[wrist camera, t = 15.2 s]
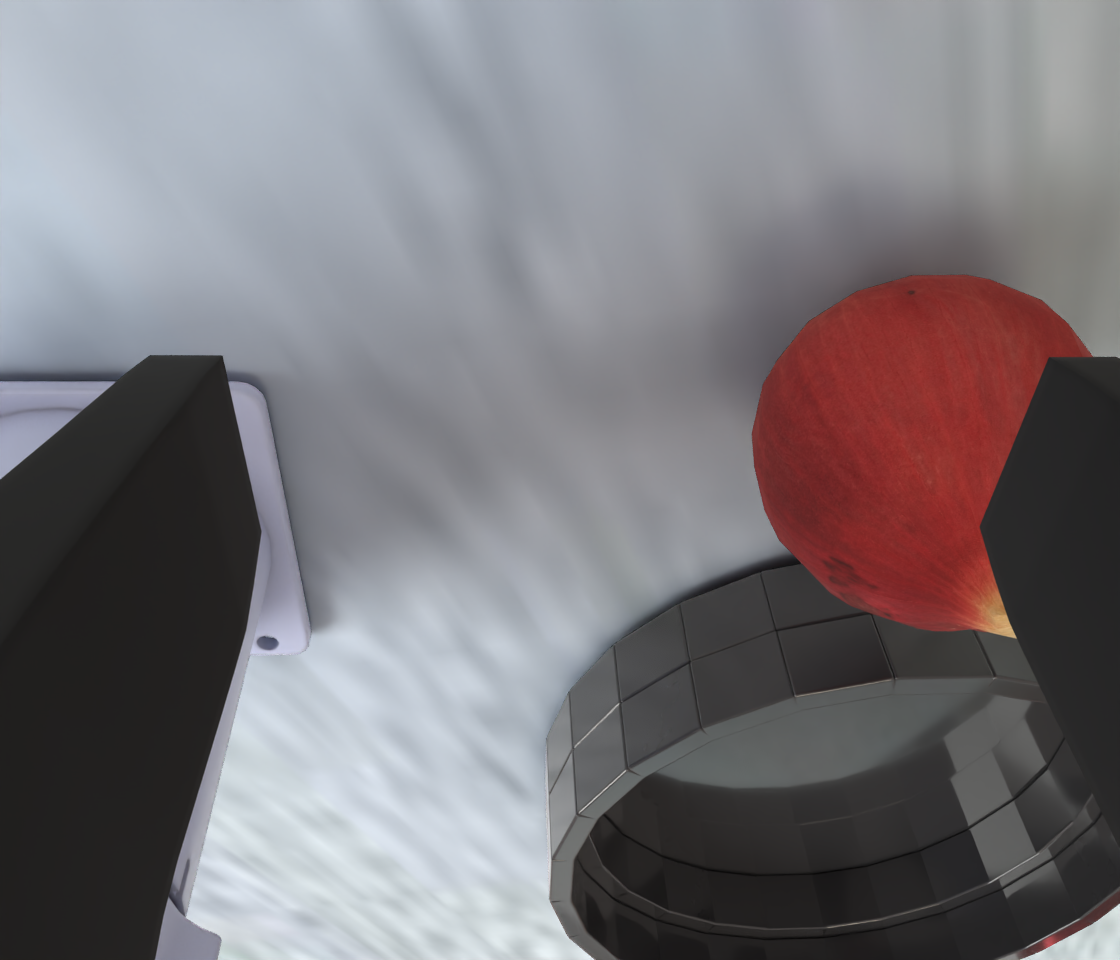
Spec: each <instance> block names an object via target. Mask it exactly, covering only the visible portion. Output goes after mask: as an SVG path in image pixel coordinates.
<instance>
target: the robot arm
mask: <svg viewBox="0 0 1120 960" xmlns="http://www.w3.org/2000/svg"><path fill="white" fill-rule="evenodd" d="M979 527H980V531H981V534H982V537H983V541H984V544H985V548H986V551H987V555H988V558H989V561H990V565H991V568H992V572H993V575H994V579H995V582H996V584H997V587H998V590H999V593H1000V596H1001V599H1002V602H1003V605H1004V608H1005V611H1006V614H1007V617H1008V620H1009V623H1010V625H1011V627H1012V629H1013V631H1014V633H1015V636H1016V638H1017V640H1018V642H1019V644H1020V647H1021V649H1022V651H1023V653H1024V655H1025V657H1026V659H1027V661H1028V663H1029V665H1030V667H1031V669H1032V672H1033V674H1034V676H1035V678H1036V680H1037V682H1038V684H1039V686H1040V688H1041V690H1042V692H1043V694H1044V696H1045V699H1046V701H1047V703H1048V705H1049V707H1050V709H1051V711H1052V713H1053V715H1054V717H1055V719H1056V721H1057V723H1058V725H1059V727H1060V729H1061V731H1062V733H1063V735H1064V737H1065V739H1066V741H1067V743H1068V745H1069V747H1070V749H1071V751H1072V753H1073V755H1074V757H1075V759H1076V761H1077V763H1078V765H1079V767H1080V769H1081V771H1082V773H1083V776H1084V778H1085V780H1086V782H1087V784H1088V786H1089V788H1090V790H1091V792H1092V794H1093V796H1094V798H1095V800H1096V802H1097V804H1098V806H1099V808H1100V810H1101V812H1102V814H1103V816H1104V818H1105V820H1106V822H1107V824H1108V826H1109V828H1110V830H1111V832H1112V834H1113V836H1114V838H1115V840H1116V843H1117V845H1118V847H1119V850H1120V359H1119V358H1117V357H1049V358H1048V360H1047V363H1046V365H1045V368H1044V370H1043V373H1042V375H1041V377H1040V380H1039V382H1038V385H1037V387H1036V390H1035V392H1034V395H1033V397H1032V399H1031V402H1030V404H1029V407H1028V409H1027V412H1026V414H1025V417H1024V419H1023V421H1022V424H1021V426H1020V429H1019V431H1018V434H1017V436H1016V438H1015V441H1014V443H1013V446H1012V448H1011V451H1010V453H1009V456H1008V458H1007V460H1006V463H1005V465H1004V468H1003V470H1002V473H1001V475H1000V478H999V480H998V482H997V485H996V487H995V490H994V492H993V495H992V497H991V500H990V502H989V504H988V507H987V509H986V512H985V514H984V517H983V519H982V521H981V524H980V526H979ZM266 636H270V637H273V638H270V637H266ZM310 638H311V628H310V622H309V617H308V612H307V607H306V602H305V597H304V592H303V587H302V582H301V576H300V571H299V566H298V561H297V556H296V551H295V546H294V541H293V536H292V530H291V525H290V520H289V515H288V510H287V505H286V500H285V495H284V490H283V485H282V479H281V474H280V469H279V464H278V459H277V454H276V449H275V444H274V439H273V433H272V428H271V423H270V418H269V413H268V408H267V403H266V400H265V398H264V396H263V394H262V393H261V392H260V391H259V390H258V389H257V388H256V387H254V386H252V385H250V384H248V383H243V382H237V381H228V378H227V374H226V369H225V365H224V360H223V356H203V355H150V356H148V357H147V358H146V359H144V360H143V361H142V362H140V363H139V364H138V365H136V366H135V367H134V368H132V369H131V370H130V371H129V372H127V373H126V374H125V375H124V376H122V377H121V378H120V379H119V380H118V381H0V960H218V955H219V950H220V946H221V941H222V940H221V938H220V936H219V935H217V934H215V933H213V932H210V931H208V930H206V929H203V928H201V927H199V926H198V925H196V924H194V923H193V922H191V921H189V920H188V919H187V918H186V915H187V911H188V907H189V902H190V898H191V894H192V890H193V886H194V882H195V878H196V874H197V870H198V866H199V862H200V857H201V853H202V849H203V845H204V841H205V837H206V833H207V829H208V825H209V821H210V817H211V812H212V808H213V804H214V800H215V796H216V792H217V788H218V784H219V780H220V776H221V771H222V767H223V763H224V759H225V755H226V751H227V747H228V743H229V739H230V735H231V731H232V726H233V722H234V718H235V714H236V710H237V706H238V702H239V698H240V694H241V690H242V685H243V681H244V677H245V673H246V669H247V665H248V661H249V657H250V655H293V654H299V653H301V652H303V651H305V650H306V649H307V648H308V647H309V643H310Z"/></svg>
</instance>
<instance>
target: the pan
mask: <svg viewBox="0 0 1120 960" xmlns="http://www.w3.org/2000/svg"><path fill="white" fill-rule="evenodd" d="M545 798H546V826H547V854H548V882H549V900H550V902H551V904H552V906H553V908H554V910H555V912H556V914H557V916H558V918H559V920H560V922H561V924H562V926H563V928H564V930H565V932H566V934H567V936H568V937H569V938H570V939H571V940H572V941H573V942H574V943H576V944H577V945H578V946H579V947H580V948H582V949H583V950H584V951H585V952H586V953H588V954H589V955H590V956H591V957H592V958H594V959H595V960H1020V959H1022V958H1025V957H1028V956H1030V955H1033V954H1035V953H1038V952H1040V951H1042V950H1044V949H1046V948H1048V947H1050V946H1051V945H1053V944H1055V943H1057V942H1059V941H1061V940H1063V939H1065V938H1067V937H1068V936H1070V935H1072V934H1074V933H1076V932H1078V931H1080V930H1082V929H1084V928H1086V927H1087V926H1089V925H1091V924H1093V923H1094V922H1096V921H1098V920H1099V919H1100V918H1101V917H1103V916H1104V915H1105V914H1107V913H1108V912H1109V911H1111V910H1112V909H1113V908H1115V907H1116V906H1117V905H1118V904H1120V850H1119V847H1118V845H1117V843H1116V840H1115V838H1114V836H1113V834H1112V832H1111V830H1110V828H1109V826H1108V824H1107V822H1106V820H1105V818H1104V816H1103V814H1102V812H1101V810H1100V808H1099V806H1098V804H1097V802H1096V800H1095V798H1094V796H1093V794H1092V792H1091V790H1090V788H1089V786H1088V784H1087V782H1086V780H1085V778H1084V776H1083V773H1082V771H1081V769H1080V767H1079V765H1078V763H1077V761H1076V759H1075V757H1074V755H1073V753H1072V751H1071V749H1070V747H1069V745H1068V743H1067V741H1066V739H1065V737H1064V735H1063V733H1062V731H1061V729H1060V727H1059V725H1058V723H1057V721H1056V719H1055V717H1054V715H1053V713H1052V711H1051V709H1050V707H1049V705H1048V703H1047V701H1046V699H1045V696H1044V694H1043V692H1042V690H1041V688H1040V686H1039V684H1038V682H1037V680H1036V678H1035V676H1034V674H1033V672H1032V669H1031V667H1030V665H1029V663H1028V661H1027V659H1026V657H1025V655H1024V653H1023V651H1022V649H1021V647H1020V644H1019V642H1018V640H1017V639H1016V638H1012V637H1007V636H1003V635H999V634H994V633H990V632H980V631H976V630H971V629H968V630H959V631H930V630H924V629H918V628H914V627H911V626H908V625H905V624H902V623H899V622H896V621H893V620H890V619H886V618H883V617H880V616H877V615H874V614H871V613H869V612H866V611H863V610H860V609H858V608H855V607H852V606H850V605H849V604H847V603H845V602H844V601H842V600H841V599H839V598H837V597H836V596H834V595H833V594H831V593H830V592H829V591H828V590H827V589H826V588H825V587H824V586H823V585H822V584H821V583H820V582H819V581H818V580H817V579H816V578H815V577H814V576H813V575H812V573H811V572H810V571H809V570H808V569H807V568H806V567H805V566H804V565H803V564H797V565H792V566H786V567H781V568H776V569H771V570H766V571H762V572H761V574H760V573H756V574H753V575H751V576H748V577H745V578H743V579H740V580H738V581H735V582H732V583H730V584H727V585H725V586H722V587H719V588H717V589H714V590H712V591H709V592H706V593H704V594H701V595H699V596H696V597H693V598H691V599H688V600H686V601H683V602H681V603H680V604H677V605H675V606H674V607H672V608H670V609H669V610H667V611H666V612H664V613H662V614H661V615H659V616H658V617H656V618H654V619H653V620H651V621H650V622H648V623H647V624H645V625H643V626H642V627H640V628H639V629H637V630H635V631H634V632H632V633H631V634H629V635H628V636H626V637H624V638H623V639H621V640H620V641H618V642H616V643H615V645H612V647H611V648H610V649H609V650H608V651H607V652H606V653H605V654H604V655H603V656H602V657H601V658H600V659H599V660H598V661H597V662H596V663H595V664H594V665H593V666H592V667H591V668H590V669H589V670H588V671H587V672H586V673H585V675H584V676H583V677H582V678H581V679H580V680H579V681H578V682H577V683H576V684H575V685H574V686H573V687H572V688H571V689H570V691H569V692H568V694H567V696H566V698H565V700H564V703H563V705H562V707H561V709H560V711H559V713H558V715H557V717H556V719H555V721H554V723H553V725H552V727H551V730H550V732H549V734H548V736H547V738H546V763H545Z"/></svg>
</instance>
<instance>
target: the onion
mask: <svg viewBox="0 0 1120 960" xmlns="http://www.w3.org/2000/svg"><path fill="white" fill-rule="evenodd" d="M1049 357H1093V356H1092V355H1091V353H1090V352H1089V351H1088V349H1087V348H1086V347H1085V345H1084V344H1083V343H1082V341H1081V340H1080V339H1079V337H1078V336H1077V335H1076V333H1075V332H1074V331H1073V329H1072V328H1071V327H1070V326H1069V324H1068V323H1067V322H1066V321H1064V320H1063V319H1062V318H1061V317H1060V316H1059V315H1058V314H1057V313H1055V312H1054V311H1053V310H1052V309H1051V308H1050V307H1049V306H1048V305H1046V304H1045V303H1044V302H1043V301H1042V300H1040V299H1037V298H1035V297H1032V296H1030V295H1027V294H1025V293H1022V292H1020V291H1017V290H1015V289H1012V288H1010V287H1007V286H1005V285H1002V284H1000V283H997V282H995V281H993V280H989V279H984V278H979V277H974V276H969V275H911V276H908V277H905V278H901V279H898V280H894V281H891V282H887V283H884V284H880V285H877V286H874V287H870V288H867V289H863V290H860V291H856V292H855V293H853V294H852V295H850V296H848V297H847V298H845V299H844V300H842V301H840V302H839V303H837V304H835V305H834V306H832V307H831V308H829V309H827V310H826V311H824V312H823V313H821V314H819V315H818V316H816V317H815V318H813V319H811V320H810V321H809V322H808V323H807V324H806V325H805V326H804V328H803V329H802V330H801V331H800V333H799V334H798V335H797V336H796V338H795V339H794V340H793V341H792V343H791V344H790V345H789V346H788V348H787V349H786V350H785V351H784V352H783V354H782V355H781V356H780V357H779V359H778V360H777V361H776V363H775V365H774V366H773V368H772V370H771V372H770V373H769V375H768V377H767V378H766V380H765V382H764V383H763V386H762V391H761V395H760V399H759V404H758V408H757V413H756V417H755V421H754V426H753V430H752V443H753V456H754V467H755V472H756V476H757V480H758V484H759V489H760V493H761V497H762V501H763V506H764V510H765V512H766V514H767V517H768V519H769V521H770V523H771V525H772V527H773V529H774V531H775V533H776V535H777V537H778V539H779V541H780V542H781V543H782V544H783V545H784V546H785V547H786V548H787V549H788V550H789V551H790V552H791V553H792V554H793V555H794V556H795V557H796V558H797V559H798V560H799V561H800V562H801V563H802V564H803V565H804V566H805V567H806V568H807V569H808V570H809V571H810V572H811V573H812V575H813V576H814V577H815V578H816V579H817V580H818V581H819V582H820V583H821V584H822V585H823V586H824V587H825V588H826V589H827V590H828V591H829V592H830V593H831V594H833V595H834V596H836V597H837V598H839V599H841V600H842V601H844V602H845V603H847V604H849V605H850V606H852V607H855V608H858V609H860V610H863V611H866V612H869V613H871V614H874V615H877V616H880V617H883V618H886V619H890V620H893V621H896V622H899V623H902V624H905V625H908V626H911V627H914V628H918V629H924V630H930V631H959V630H968V629H971V630H976V631H980V632H990V633H994V634H999V635H1003V636H1007V637H1012V638H1016V636H1015V633H1014V631H1013V629H1012V627H1011V625H1010V623H1009V620H1008V617H1007V614H1006V611H1005V608H1004V605H1003V602H1002V599H1001V596H1000V593H999V590H998V587H997V584H996V582H995V579H994V575H993V572H992V568H991V565H990V561H989V558H988V555H987V551H986V548H985V544H984V541H983V537H982V534H981V531H980V527H979V526H980V524H981V521H982V519H983V517H984V514H985V512H986V509H987V507H988V504H989V502H990V500H991V497H992V495H993V492H994V490H995V487H996V485H997V482H998V480H999V478H1000V475H1001V473H1002V470H1003V468H1004V465H1005V463H1006V460H1007V458H1008V456H1009V453H1010V451H1011V448H1012V446H1013V443H1014V441H1015V438H1016V436H1017V434H1018V431H1019V429H1020V426H1021V424H1022V421H1023V419H1024V417H1025V414H1026V412H1027V409H1028V407H1029V404H1030V402H1031V399H1032V397H1033V395H1034V392H1035V390H1036V387H1037V385H1038V382H1039V380H1040V377H1041V375H1042V373H1043V370H1044V368H1045V365H1046V363H1047V360H1048V358H1049ZM1016 639H1017V638H1016Z"/></svg>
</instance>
